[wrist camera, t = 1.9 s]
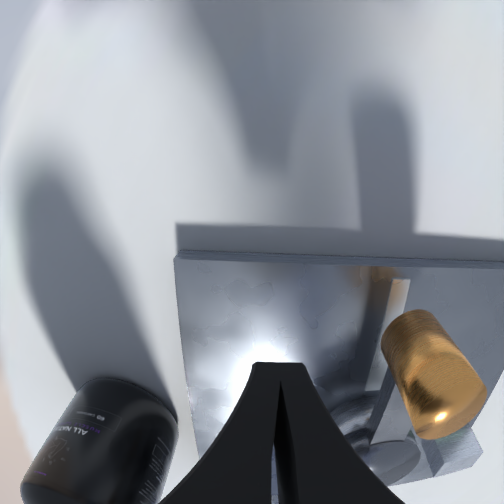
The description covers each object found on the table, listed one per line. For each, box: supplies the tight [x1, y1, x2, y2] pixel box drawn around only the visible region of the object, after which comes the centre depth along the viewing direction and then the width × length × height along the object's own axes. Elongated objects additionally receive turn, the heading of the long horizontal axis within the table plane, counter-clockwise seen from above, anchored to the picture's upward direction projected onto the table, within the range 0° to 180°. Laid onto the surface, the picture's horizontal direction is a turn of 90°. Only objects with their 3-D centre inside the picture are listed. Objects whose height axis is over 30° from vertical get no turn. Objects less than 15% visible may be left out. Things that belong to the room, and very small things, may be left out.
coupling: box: [345, 309, 487, 486], centre depth 10 cm, size 11×5×4 cm, turn 179°
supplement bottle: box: [20, 378, 179, 504], centre depth 11 cm, size 7×7×12 cm
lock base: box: [174, 250, 504, 495], centre depth 14 cm, size 18×18×4 cm
